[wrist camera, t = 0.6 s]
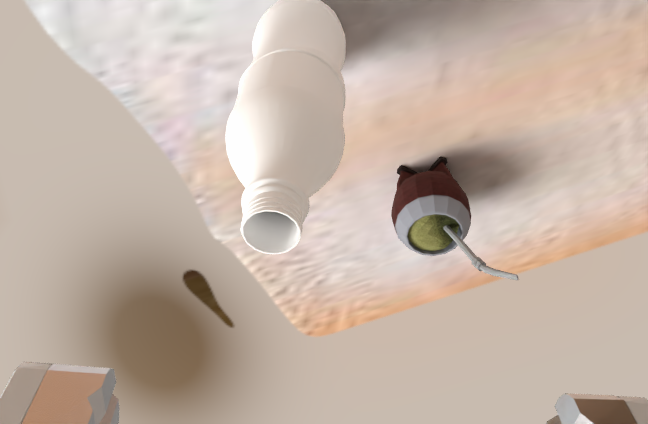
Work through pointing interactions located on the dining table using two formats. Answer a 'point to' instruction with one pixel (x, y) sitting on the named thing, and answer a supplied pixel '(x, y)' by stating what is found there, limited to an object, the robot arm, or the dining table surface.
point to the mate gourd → (434, 214)
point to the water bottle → (288, 120)
